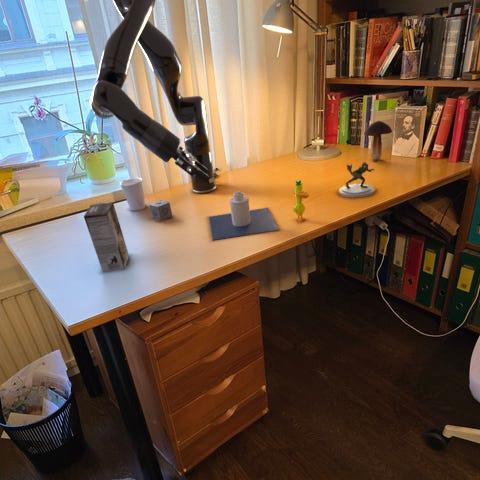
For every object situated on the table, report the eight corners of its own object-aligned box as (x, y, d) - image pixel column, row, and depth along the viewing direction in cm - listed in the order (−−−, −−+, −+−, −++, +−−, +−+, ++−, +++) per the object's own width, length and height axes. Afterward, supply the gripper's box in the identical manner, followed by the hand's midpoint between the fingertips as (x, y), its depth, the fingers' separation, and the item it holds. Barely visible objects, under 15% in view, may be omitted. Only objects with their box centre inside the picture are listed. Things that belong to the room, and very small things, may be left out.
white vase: (231, 221, 133) (228, 191, 128) (249, 218, 133) (246, 189, 128) (233, 227, 128) (229, 197, 123) (251, 224, 128) (248, 194, 123)
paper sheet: (209, 217, 139) (208, 216, 139) (267, 208, 139) (267, 207, 139) (212, 240, 122) (212, 239, 122) (279, 230, 123) (279, 229, 123)
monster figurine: (360, 199, 136) (362, 167, 130) (331, 194, 144) (332, 163, 138) (381, 189, 142) (384, 158, 136) (352, 184, 150) (353, 155, 144)
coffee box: (107, 258, 120) (90, 204, 111) (129, 255, 120) (113, 201, 111) (101, 272, 112) (82, 216, 103) (125, 269, 112) (107, 212, 103)
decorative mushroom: (363, 164, 170) (365, 124, 161) (361, 157, 178) (363, 119, 170) (391, 162, 167) (394, 122, 159) (387, 155, 176) (391, 117, 168)
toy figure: (312, 221, 126) (312, 181, 119) (303, 224, 124) (302, 184, 117) (299, 216, 131) (297, 177, 124) (290, 219, 129) (288, 180, 122)
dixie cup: (153, 205, 156) (146, 179, 150) (135, 213, 151) (127, 185, 146) (140, 202, 161) (133, 176, 155) (122, 209, 156) (115, 183, 151)
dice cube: (164, 213, 147) (161, 200, 144) (172, 216, 144) (169, 202, 141) (152, 218, 144) (149, 204, 141) (160, 221, 141) (157, 206, 138)
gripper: (166, 133, 107) (216, 172, 114) (167, 125, 119) (212, 160, 126) (151, 157, 110) (200, 194, 117) (153, 147, 122) (198, 180, 129)
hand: (206, 176), depth 122 cm, fingers open, 8 cm apart
